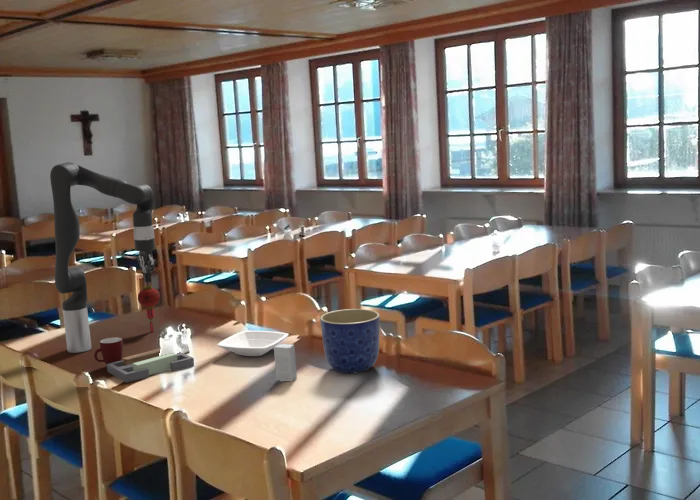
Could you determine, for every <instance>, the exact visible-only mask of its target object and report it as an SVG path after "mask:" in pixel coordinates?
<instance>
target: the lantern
mask: <svg viewBox="0 0 700 500" xmlns="http://www.w3.org/2000/svg"><path fill="white" fill-rule="evenodd" d="M160 299H161V295H160V292H159V291H158V289H156V288H154V287H153V285H149V283H146V285H144V286H143V289H141V290H140V291H139V293H138V294H137V301H138V303H139V304H140V305H141V306H142V307H144V308H145V310H146V319H148V320H149V321H150V322H149V326H150V333H154V322H153V319H155V310H154V309H155V306H156V305H157V304H159V302H160Z"/></svg>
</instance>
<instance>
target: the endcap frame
mask: <svg viewBox="0 0 700 500" xmlns="http://www.w3.org/2000/svg"><path fill="white" fill-rule="evenodd" d="M194 359H195V358H194V357H192V356H190V355H188V354H185V353H183V352H181V351H179V353H177V361H174V362H170V365H171V369H170V371H172V372H175V371H178V370H184V369H186V368H187V367H188V368H190V367H191V366H192V367H194V366H195V361H194ZM183 368H184V369H183ZM106 369H107V370H106V371H107V373H109V374H111V375H113V376H114V377H116V378H118V379H119V380H121V381H123V383H127V384H128V383H130V382H135V381H139V380H143V379H147V378H149V377H150V375H149V369H148V368H144V369H140V370H136V371H133V364H129V365H125V366H124V365H123V359H122V360H121V361H117V362H113V363H108V364H107V365H106Z"/></svg>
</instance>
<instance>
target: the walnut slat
mask: <svg viewBox="0 0 700 500" xmlns="http://www.w3.org/2000/svg"><path fill="white" fill-rule="evenodd" d="M161 348H162V347H159V348H156V349H152V350H148V351H145V352H141V353H137V354H134V355H129V356H126V357H122V360H123V365H124V366H125V365H129V364H133V363H136V362H140V361H143V360H147V359H151V358H154V357H158V356H159V353H160V349H161Z"/></svg>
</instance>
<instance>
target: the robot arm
mask: <svg viewBox="0 0 700 500" xmlns="http://www.w3.org/2000/svg"><path fill="white" fill-rule="evenodd" d="M49 174H50V177H49V180H50V186H51V192H52V199H53V214H54V215H53V216H54V240H55V265H54V283H55V288H56V290H57V291H58V292H59V293H60V294H68V293H71V295H70V296H69V297H68V298H67V299H66V300H64V301H63V302H62V304H61V305H62V307H61V308H62V314H63V322H64V331H65V340H66V349H67V352H68V353H70V354H77V353H78V354H79V353H84V352H88V351H90V350H91V349H92V339H91V332H90V323H89V322H90V321H89V315H88V314H89V312H88V305H87V304H88V289H87V288H88V287H87V285H88V283H87V277H86V273H85V271H84V270H83V268H81V267H79V266H77V267H72V268H71V267H70V268H69V264H70V260H71V255H72V253H73V252H74V250H75V248H76V247H77V244H78V243H79V240H80V236H81V233H80V231H81V229H80V218H79V216H78V213H77V212H76V209H75V208H74V206H73V203H72V197H71V187H74V186H86V187H89V188H92V189H94V190H96V191H98V192H99V193H101V194H103V195H105V196H108V197H113V198H118V199H120V200H122V201H123V202H127V203H129V204H132V205H136V209H135V210H134V211H133V212H132V221H133V222H132V223H133V224H132V225H133V240H134V241H133V242H134V244H133V245H134V250H135V251H137V252H138V256H136V261H137V263H138V266H139V268H140V271H142V273H143V281H144V282H145V283H146V284H147V283H148V284H149V283H151V282H152V272H154V270H155V267H156V266H155V265H156V263H157V260H156V259H154V258H153V257H154V256H153V252H152V251H153V250H155V249H156V241H155V239H156V238H155V230H154V224H153V213H152V212H153V209H154V208H153V207H154V199H155V198H154V197H155V196H154V192H153V189H152V187H151V186H150V185H148V184H145V183H143V184H138V185H132V184H129V183H128V182H127V181H126V180H124V179H119V178H116V177H112V176H109V175H104V174H101V173H98V172H95V171H93V170H90V169H88V168H87V167H86V168H85V167H83V166H82V165H79V164H78V163H75V162H63V163H59V164H56V165H54V166H53V167H52V168H51V170H50V173H49Z"/></svg>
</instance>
